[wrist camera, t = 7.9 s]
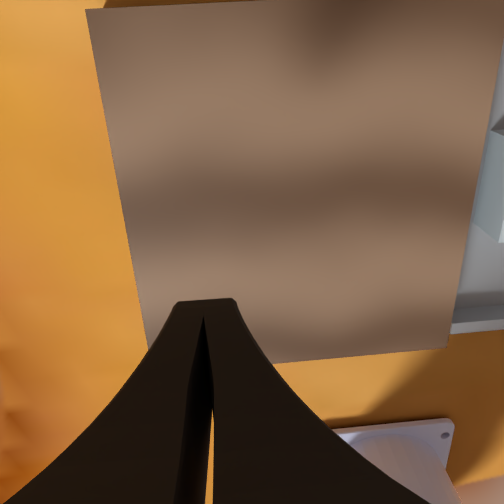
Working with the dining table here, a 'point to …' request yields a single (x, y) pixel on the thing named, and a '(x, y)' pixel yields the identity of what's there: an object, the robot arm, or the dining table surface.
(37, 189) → the dining table surface
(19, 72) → the dining table surface
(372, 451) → the robot arm
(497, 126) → the tray
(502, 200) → the grey blue tile
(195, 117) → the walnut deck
